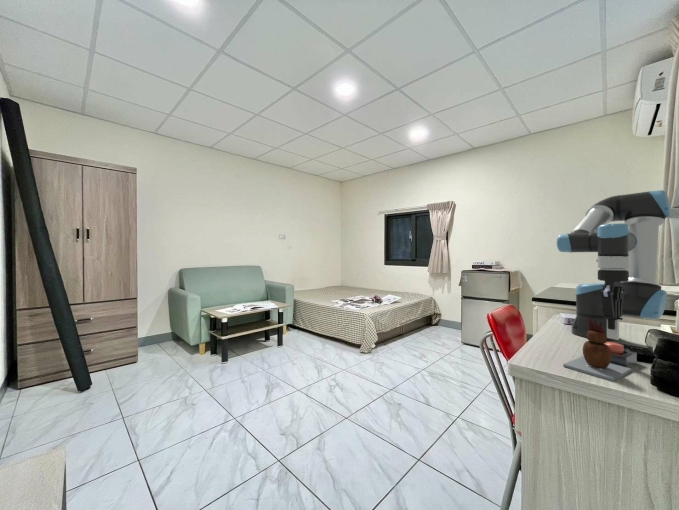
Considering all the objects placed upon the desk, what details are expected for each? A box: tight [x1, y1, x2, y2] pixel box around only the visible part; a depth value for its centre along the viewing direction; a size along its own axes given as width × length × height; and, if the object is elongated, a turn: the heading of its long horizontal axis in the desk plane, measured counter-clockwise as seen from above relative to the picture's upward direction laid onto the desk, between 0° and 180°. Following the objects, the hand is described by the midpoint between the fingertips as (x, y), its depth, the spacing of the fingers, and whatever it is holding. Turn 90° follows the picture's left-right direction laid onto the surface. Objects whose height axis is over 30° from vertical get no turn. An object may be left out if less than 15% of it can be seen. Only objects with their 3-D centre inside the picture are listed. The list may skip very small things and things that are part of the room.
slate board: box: [562, 355, 632, 382], centre depth 88 cm, size 14×12×1 cm
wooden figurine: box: [582, 318, 612, 368], centre depth 88 cm, size 7×6×15 cm
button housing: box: [610, 349, 638, 368], centre depth 94 cm, size 9×9×4 cm
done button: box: [604, 341, 625, 355], centre depth 94 cm, size 5×5×3 cm
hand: (612, 338), depth 94 cm, fingers closed
